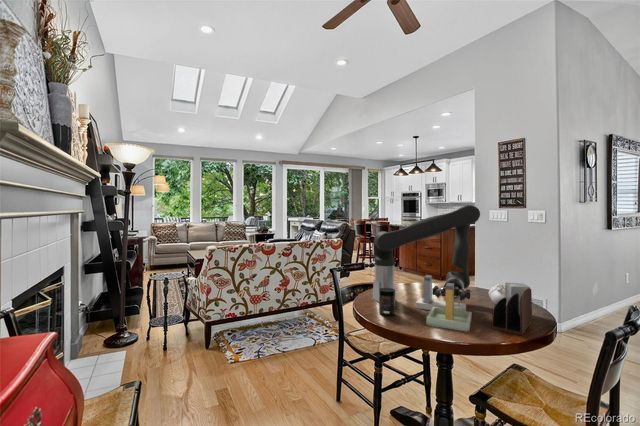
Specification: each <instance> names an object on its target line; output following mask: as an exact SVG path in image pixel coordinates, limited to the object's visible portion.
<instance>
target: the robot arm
mask: <svg viewBox="0 0 640 426" xmlns="http://www.w3.org/2000/svg"><path fill="white" fill-rule="evenodd" d="M480 216H481V211H480V210H479V208H478V207H477V206H475V205H472V204H471V205H470V204H467V205H464V206H461V207H458V208H457V210H453V211H451V212H447V213H443V214H442V213H441V214H439V215H433V216H429V217H426V218H422V219H420V220H416V221H415V222H413V223H411V224H409V225H408V226H406V227H403V228H401V229H397V230H392V231H386V230H384V231H379V232H377V233H376V234H375V236H374V238H373V258H374V279H373V282H372V286H373V287H372V290H373V291H372V292H373V293H372V296H373V297H372V298H373V299H374V301H376V302H378V303H379V289H380V288H392V289H395V259H394V253H393V251H394V250H395V249H398V248H399V247H403V246H405V245H406V244H410V243H414V242H415V243H416V242H417V241H422V240H425V239H426V240H427V239H428V238H429V239H430V238H432V237H435V236H438V235H440V234H442V233H445V232H447V231H449V230H451V229H453V228H454V229H455V231H454V247H453V254H452V261H451V265H452V266H453V267H456V268H458V269H461V271H462V272H460V271H459V272H458V271H449V272H447V273H446V276H445V283H444V285H443V286H442V287H439V285H435V286H434V287H432V296H435V298H437V299H439V298H440V297H441V296H442V297H446V284H447V283H454V300H455V299H459V301H461V302H462V301H464V300H465V299H466V300H470V299H471V289H467V288H469V287H470V283H471V281H470V274H469V259H470V243H469V232H470V231H469V230H470V227H471V225H472V224H475V223H477V222H478V221H479V219H480ZM464 289H466V290H464Z"/></svg>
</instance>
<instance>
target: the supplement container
mask: <svg viewBox="0 0 640 426" xmlns="http://www.w3.org/2000/svg"><path fill="white" fill-rule="evenodd" d="M378 312H379V314H380V315H381V316H384V317H393V316H394V315H395V314H396V289H395V288H394V289H392V288H380V289H379V302H378Z"/></svg>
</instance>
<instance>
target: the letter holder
mask: <svg viewBox="0 0 640 426" xmlns="http://www.w3.org/2000/svg"><path fill="white" fill-rule="evenodd" d="M532 297H533V296H532V288H531V287H530V288H528V289H526V290H525V291H524V292H523V294H522V296H521V297H520V315H519V294H514V295H513V296H512V297H511V298H510V299H509V301H508V302H507V299H506V298H502V299H501V300H500V301H499V302H498V303H497V304H494V306H493V308H492V321H491V322H492V323H491V326H492V327H491V329H492V330H497V331H501V332H505V333H510V334H514V335H518V336H524V333H525V331H526V330H527V329H528V327H529V326H530V324H531V323H532V322H533V305H532V304H533V301H532V299H533V298H532ZM506 302H507V305H506ZM530 322H531V323H530Z"/></svg>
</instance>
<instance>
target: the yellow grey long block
mask: <svg viewBox="0 0 640 426" xmlns="http://www.w3.org/2000/svg"><path fill="white" fill-rule="evenodd" d="M445 301H446V308H445V319H446V320H453V319H454V303H455V299H454V283H447V284H446V296H445Z"/></svg>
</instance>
